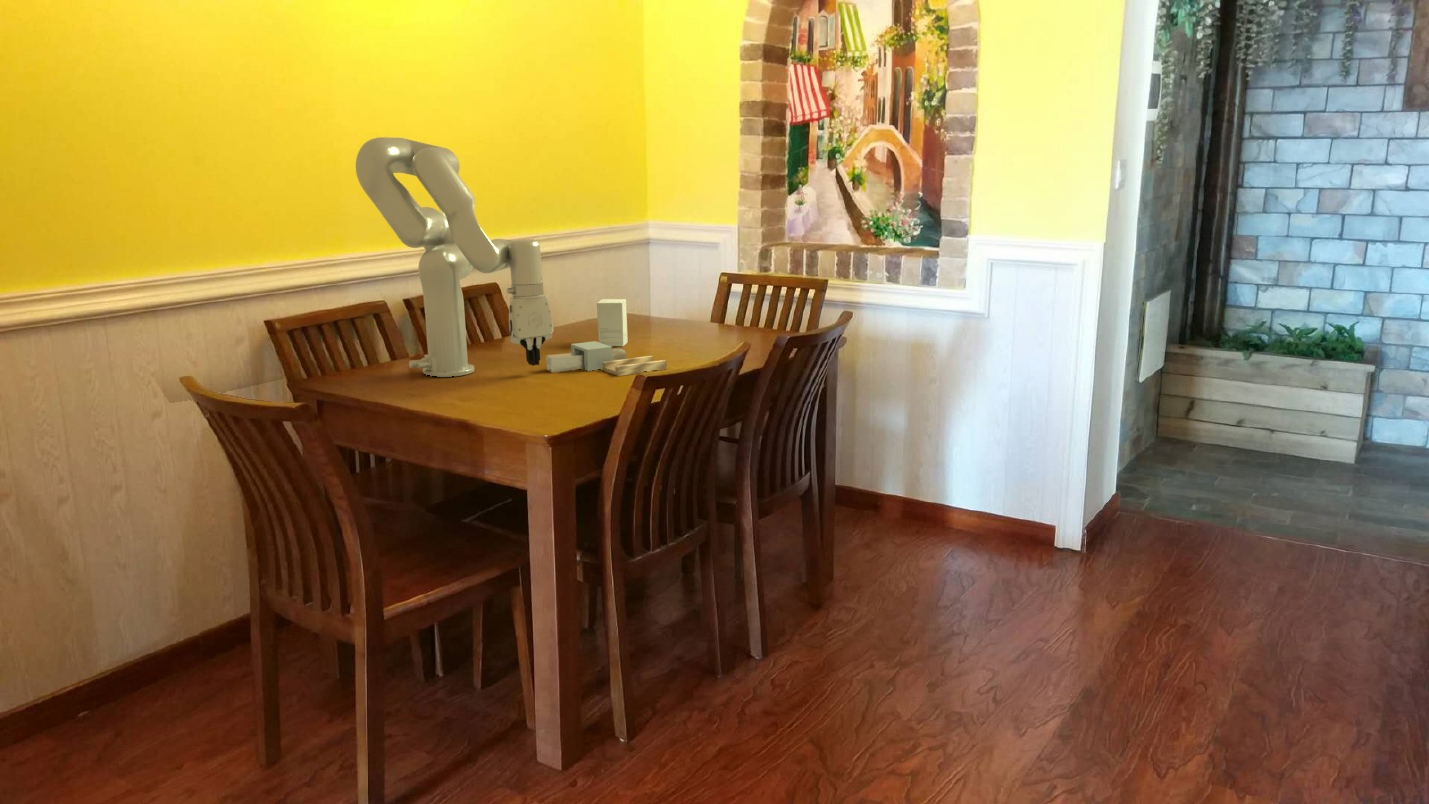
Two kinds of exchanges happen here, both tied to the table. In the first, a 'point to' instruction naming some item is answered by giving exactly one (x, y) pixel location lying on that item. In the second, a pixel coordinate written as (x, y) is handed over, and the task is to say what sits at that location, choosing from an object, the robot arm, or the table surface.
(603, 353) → the grey arch block
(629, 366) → the cradle
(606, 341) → the supplement box
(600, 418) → the table surface
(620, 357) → the bar
